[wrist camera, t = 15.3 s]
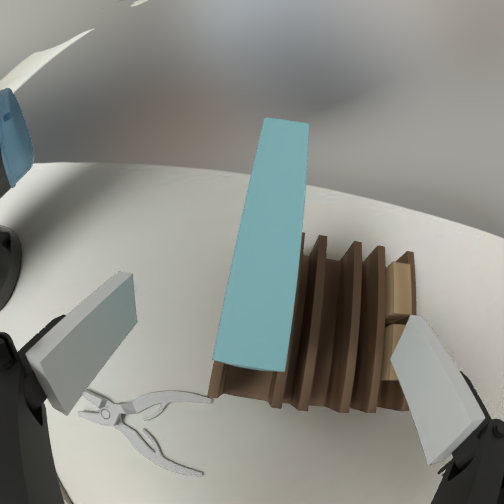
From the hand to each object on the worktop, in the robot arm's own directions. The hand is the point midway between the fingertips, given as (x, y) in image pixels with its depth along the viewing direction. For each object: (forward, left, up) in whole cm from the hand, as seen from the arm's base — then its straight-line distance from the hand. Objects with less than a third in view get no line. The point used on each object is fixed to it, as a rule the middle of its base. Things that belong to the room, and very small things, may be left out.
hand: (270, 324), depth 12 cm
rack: (+6, +3, -17) cm, 18 cm away
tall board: (-1, +3, -16) cm, 16 cm away
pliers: (-11, -11, -17) cm, 23 cm away
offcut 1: (+12, +6, -16) cm, 21 cm away
